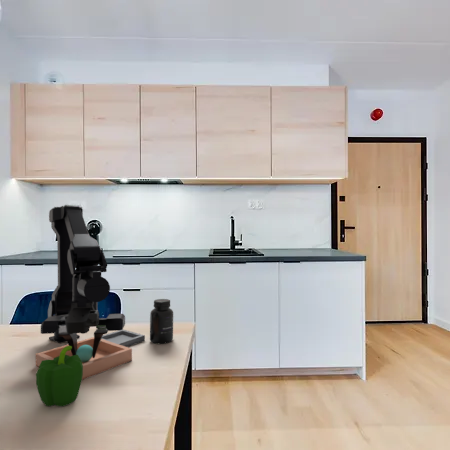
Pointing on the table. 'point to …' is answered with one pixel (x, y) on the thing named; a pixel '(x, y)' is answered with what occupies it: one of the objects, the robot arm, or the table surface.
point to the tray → (124, 337)
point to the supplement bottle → (161, 322)
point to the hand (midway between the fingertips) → (84, 358)
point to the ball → (85, 353)
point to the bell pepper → (59, 379)
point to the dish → (103, 361)
